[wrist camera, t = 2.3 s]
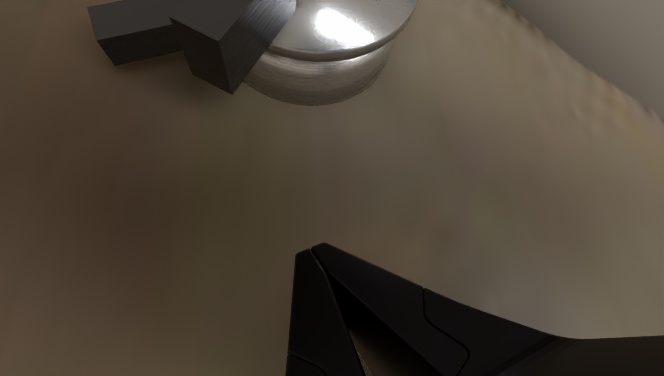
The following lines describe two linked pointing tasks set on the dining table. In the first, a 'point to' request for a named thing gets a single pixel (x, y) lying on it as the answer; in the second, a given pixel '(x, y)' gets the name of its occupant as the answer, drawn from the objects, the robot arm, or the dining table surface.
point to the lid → (281, 32)
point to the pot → (266, 76)
